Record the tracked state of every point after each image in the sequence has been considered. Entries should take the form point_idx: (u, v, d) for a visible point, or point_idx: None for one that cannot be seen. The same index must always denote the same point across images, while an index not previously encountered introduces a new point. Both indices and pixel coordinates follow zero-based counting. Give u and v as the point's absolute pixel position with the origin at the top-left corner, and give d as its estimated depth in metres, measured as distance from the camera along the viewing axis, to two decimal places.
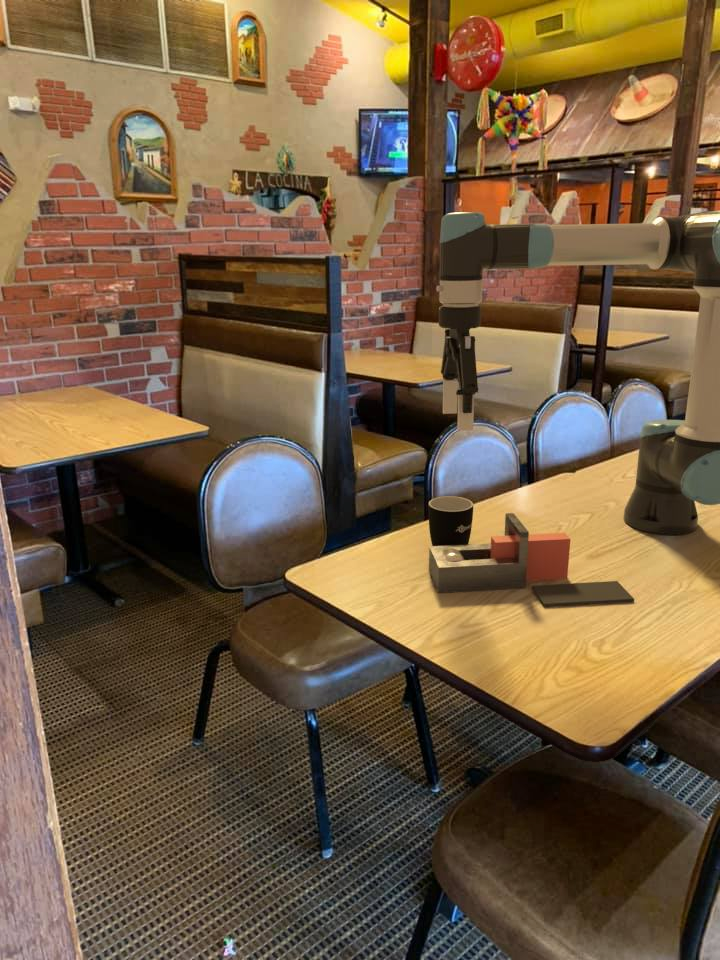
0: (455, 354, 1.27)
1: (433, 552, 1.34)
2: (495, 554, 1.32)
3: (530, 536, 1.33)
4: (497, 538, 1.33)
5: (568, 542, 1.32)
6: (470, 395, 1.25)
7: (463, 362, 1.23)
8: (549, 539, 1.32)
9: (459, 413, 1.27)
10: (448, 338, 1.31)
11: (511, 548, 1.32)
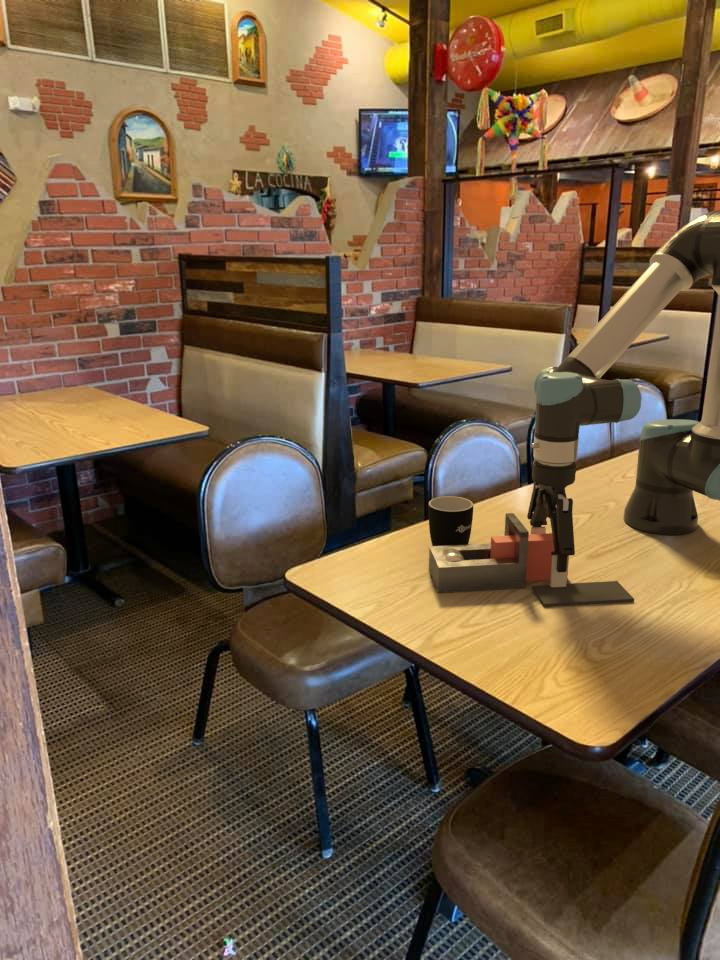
0: (550, 511, 1.28)
1: (433, 552, 1.34)
2: (495, 554, 1.32)
3: (530, 536, 1.33)
4: (497, 538, 1.33)
5: None
6: (565, 556, 1.26)
7: (560, 525, 1.24)
8: (549, 539, 1.32)
9: (553, 571, 1.28)
10: (540, 490, 1.31)
11: (511, 548, 1.32)
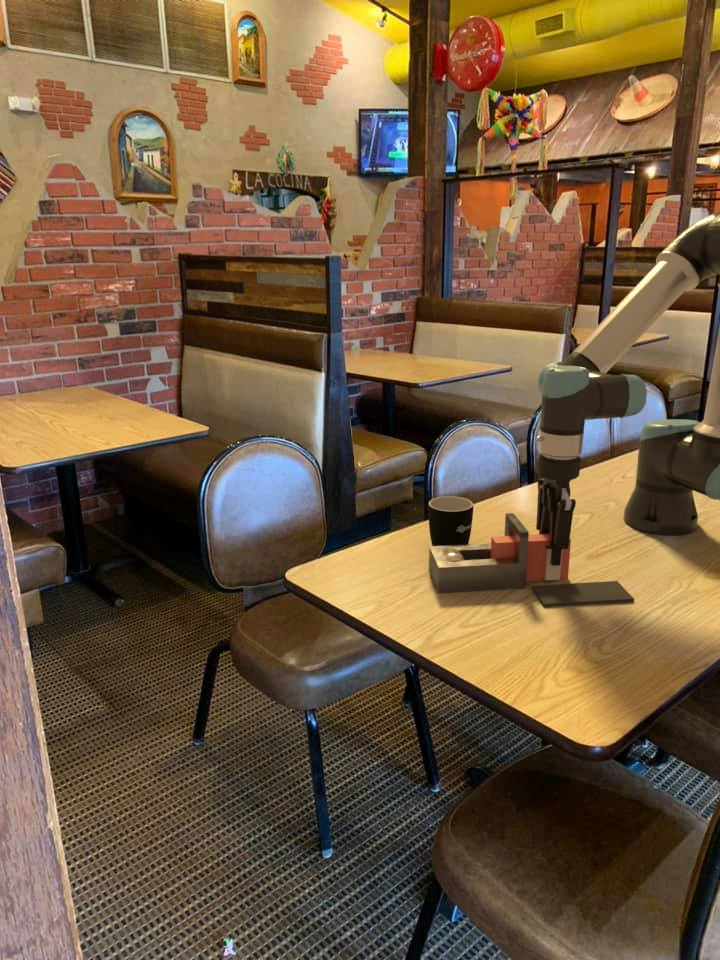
0: (551, 507, 1.29)
1: (433, 552, 1.34)
2: (495, 554, 1.32)
3: (530, 536, 1.33)
4: (498, 538, 1.33)
5: None
6: (559, 550, 1.30)
7: (559, 523, 1.26)
8: None
9: (547, 564, 1.32)
10: (544, 483, 1.31)
11: (512, 548, 1.31)
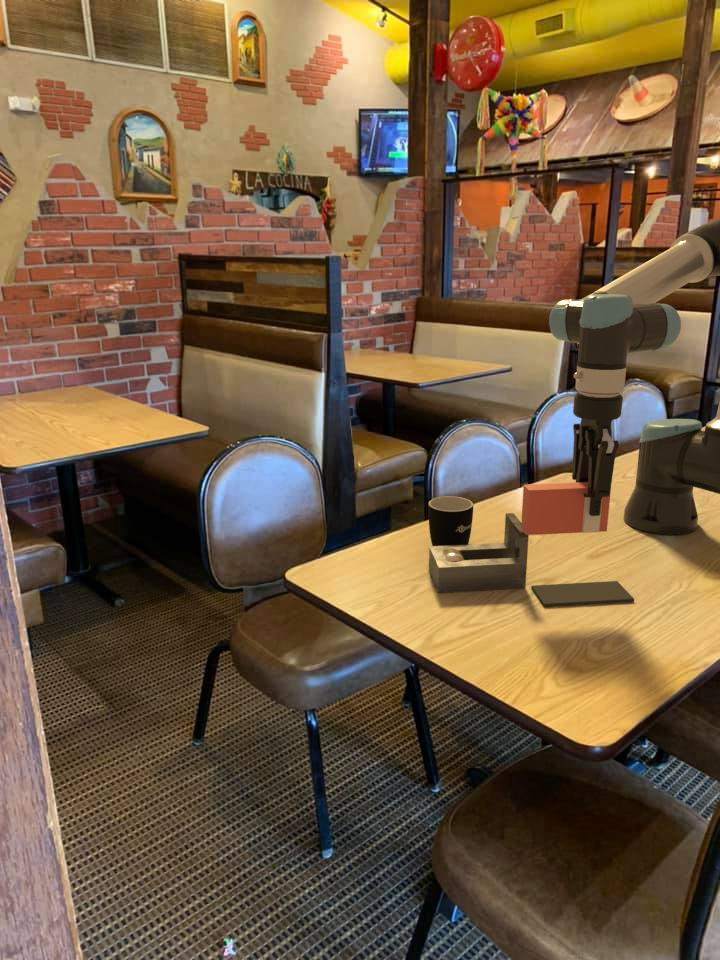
0: (590, 451, 1.17)
1: (433, 552, 1.34)
2: (528, 503, 1.20)
3: (566, 484, 1.22)
4: (531, 486, 1.21)
5: None
6: (599, 498, 1.19)
7: (600, 468, 1.15)
8: None
9: (585, 515, 1.21)
10: (582, 426, 1.20)
11: (546, 497, 1.20)
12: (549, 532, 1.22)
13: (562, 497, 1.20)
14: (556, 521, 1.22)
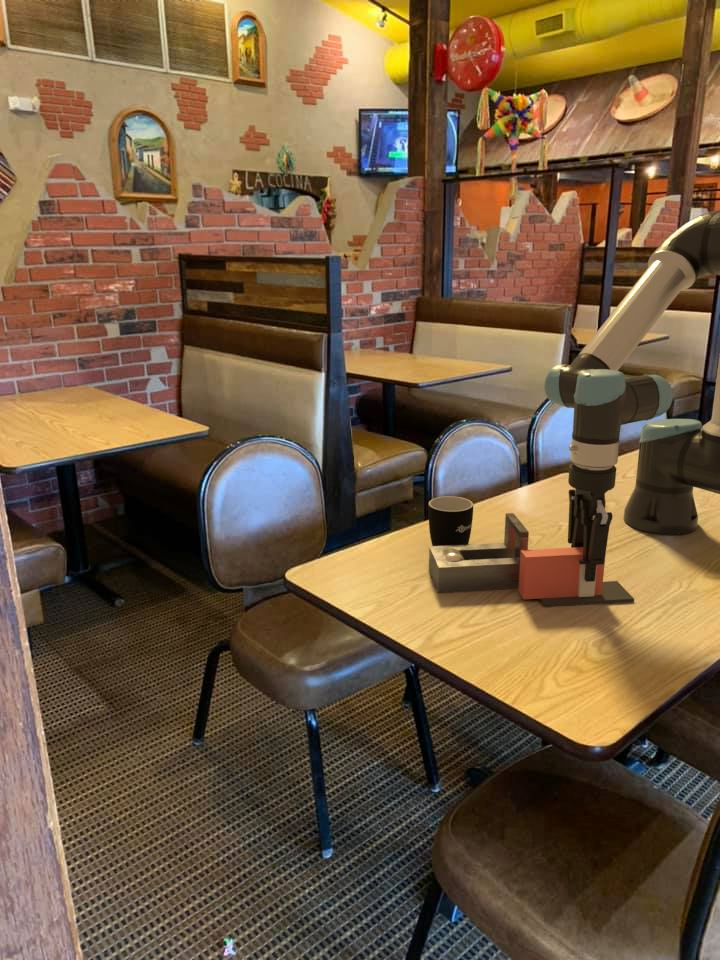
0: (585, 520, 1.21)
1: (433, 552, 1.34)
2: (525, 569, 1.24)
3: (562, 550, 1.25)
4: (528, 552, 1.25)
5: None
6: (594, 565, 1.22)
7: (595, 538, 1.18)
8: None
9: (581, 580, 1.24)
10: (577, 495, 1.23)
11: (543, 563, 1.23)
12: (545, 596, 1.26)
13: (558, 563, 1.24)
14: (552, 586, 1.25)
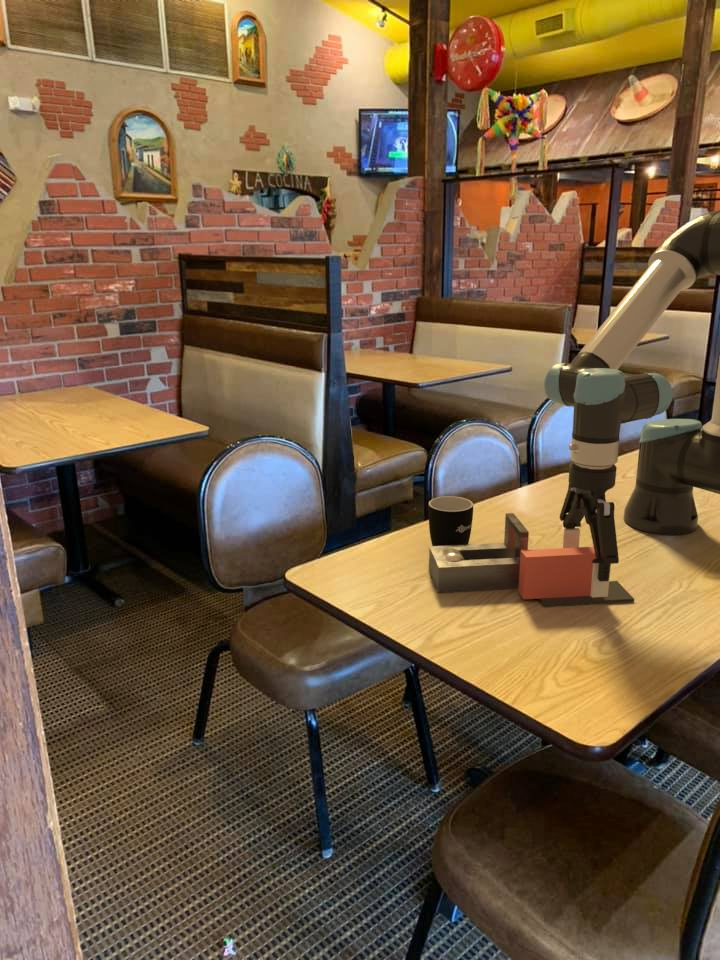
0: (589, 517, 1.19)
1: (433, 552, 1.34)
2: (525, 569, 1.24)
3: (562, 550, 1.25)
4: (528, 552, 1.25)
5: None
6: (608, 564, 1.17)
7: (602, 531, 1.15)
8: (583, 553, 1.24)
9: (594, 580, 1.19)
10: (578, 495, 1.23)
11: (543, 563, 1.23)
12: (545, 596, 1.26)
13: (558, 563, 1.24)
14: (552, 586, 1.25)
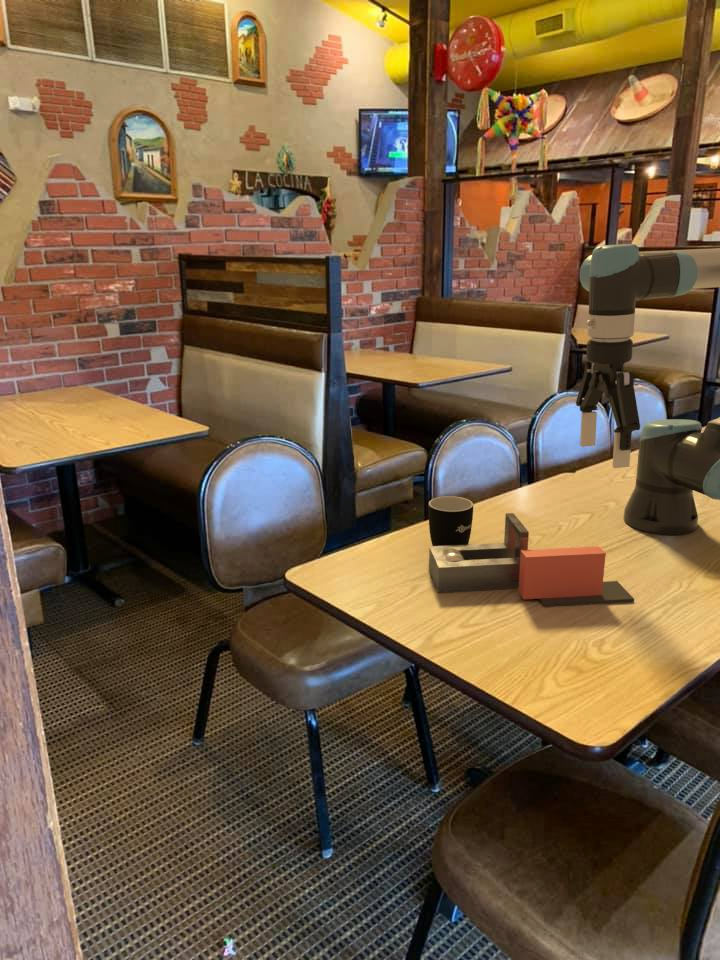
0: (608, 390, 1.24)
1: (433, 552, 1.34)
2: (525, 569, 1.24)
3: (562, 550, 1.25)
4: (528, 552, 1.25)
5: (603, 557, 1.24)
6: (629, 432, 1.21)
7: (623, 399, 1.20)
8: (583, 553, 1.24)
9: (616, 450, 1.24)
10: (595, 372, 1.27)
11: (543, 563, 1.23)
12: (545, 596, 1.26)
13: (558, 563, 1.24)
14: (552, 586, 1.25)
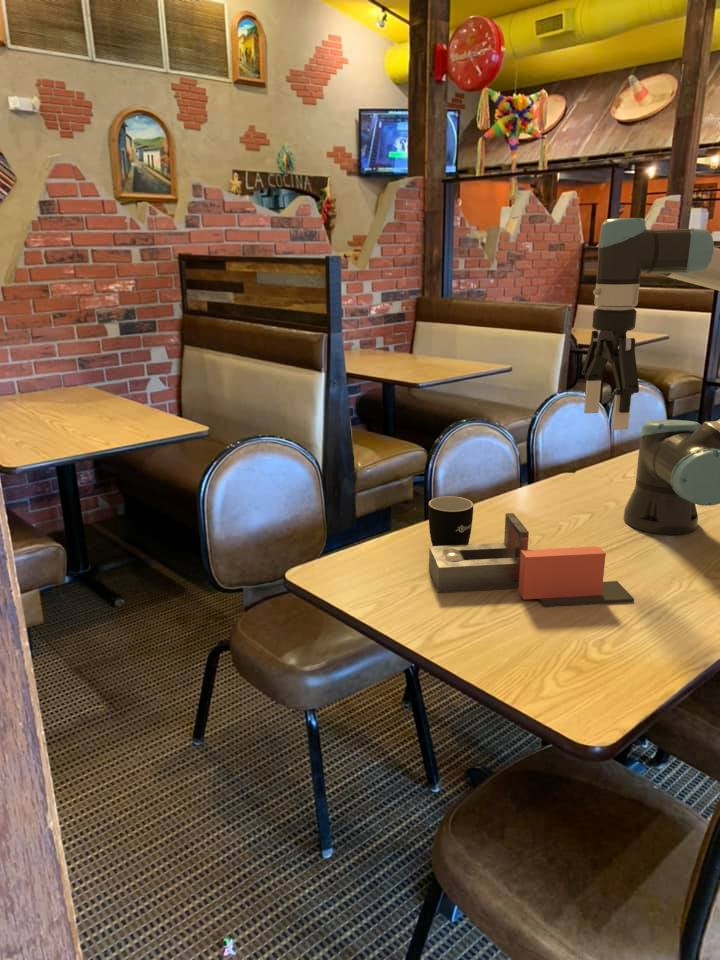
0: (611, 355, 1.31)
1: (433, 552, 1.34)
2: (525, 569, 1.24)
3: (562, 550, 1.25)
4: (528, 552, 1.25)
5: (603, 557, 1.24)
6: (629, 395, 1.29)
7: (624, 363, 1.27)
8: (583, 553, 1.24)
9: (615, 413, 1.31)
10: (600, 340, 1.35)
11: (543, 563, 1.23)
12: (545, 596, 1.26)
13: (558, 563, 1.24)
14: (552, 586, 1.25)
